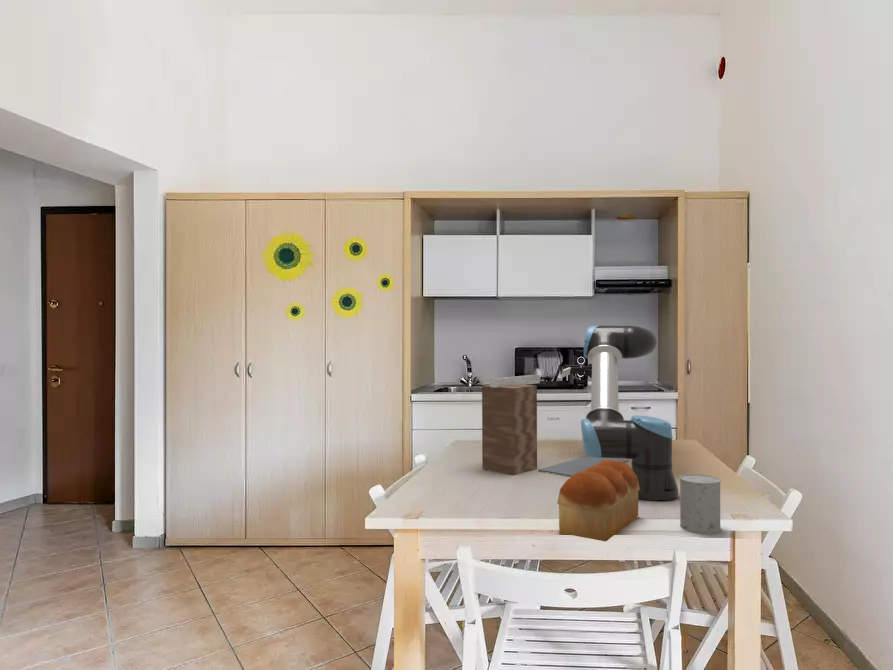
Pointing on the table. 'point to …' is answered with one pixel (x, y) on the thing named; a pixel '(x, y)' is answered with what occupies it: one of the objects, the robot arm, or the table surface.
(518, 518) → the table surface
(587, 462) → the rubber mat
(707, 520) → the concrete cylinder
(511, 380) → the steel bar
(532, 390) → the walnut pedestal
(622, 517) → the bread
